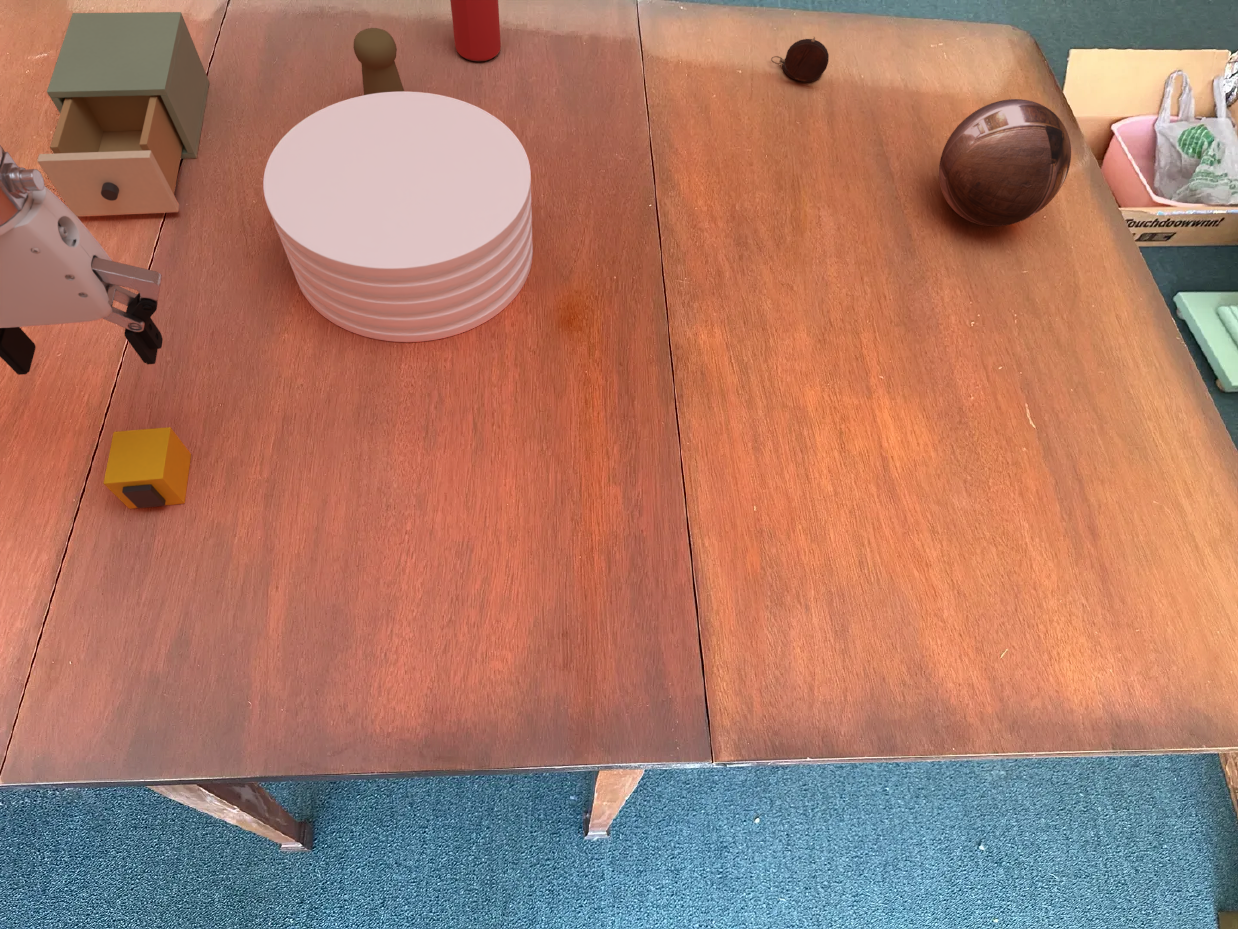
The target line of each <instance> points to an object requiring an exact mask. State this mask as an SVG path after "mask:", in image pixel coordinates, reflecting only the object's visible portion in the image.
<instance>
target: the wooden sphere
mask: <svg viewBox="0 0 1238 929" xmlns="http://www.w3.org/2000/svg"><path fill="white" fill-rule="evenodd" d="M1069 135H1070V134H1069V132H1068V130H1067V128H1066V126H1065V124H1064V123H1063V121H1062V120H1061V118H1060V117H1059V116H1058V115H1057V114H1056V113H1055V112H1053V111H1052V110H1051V109H1050V108H1048V107H1047V106H1045V105H1043V104H1041V103H1038V102H1036V101H1034V100H1033V101H1032V100H1029V99H1022V98H1021V99H1020V98H1010V99H1002V100H998V101H995V102H991V103H989V104H986V105H985V106H982V107H980V108H978V109H977V110H975V111H973V112H972V113H970V114H969V115H968V116H966V117H965V118H964V119H963V120H962V121H961V122H960V123H959V124H957V126H956V127H955V128H954V130H953V131H952V133H951V134H950V136H949V137H948V139H947V141H946V143H945V144H944V147H943V149H942V152H941V156H940V160H939V164H938V166H939V167H938V180H939V187H940V190H941V192H942V195H943V197H944V199H945V202H946V203H947V204H948V206H950V208H951V209H952V211H954V212H955V213H956V214H957V215H958V216H960V217H962V219H965V220H966V221H968V222H970V223H973V224H976V225H980V226H985V227H1005V226H1009V225H1014V224H1017V223H1021V222H1022V221H1025V220H1027V219H1029V218H1031V217H1032V216H1034V215H1036V214H1037V213H1039V212H1040V211H1041V210H1043V209H1044V208H1045V207H1046V206H1048V205H1049V204H1050V202H1052V200H1053V199H1054V198H1055V197H1056V195H1058V193H1059V191H1060V190H1061V189H1062V187H1063V185H1064V183H1065V181H1066V179H1067V176H1068V174H1069V172H1070V171H1069V170H1070V167H1071V162H1072V144H1071V138H1070V136H1069Z"/></svg>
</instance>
